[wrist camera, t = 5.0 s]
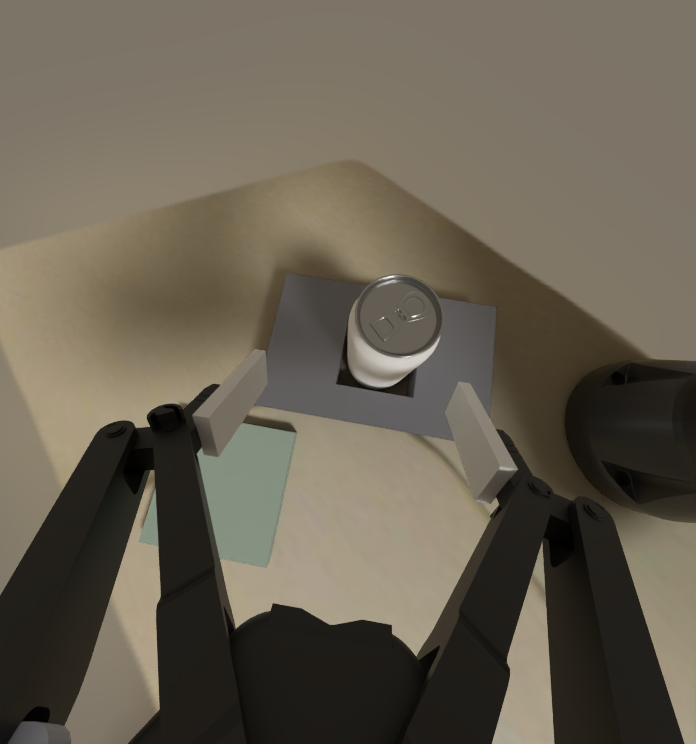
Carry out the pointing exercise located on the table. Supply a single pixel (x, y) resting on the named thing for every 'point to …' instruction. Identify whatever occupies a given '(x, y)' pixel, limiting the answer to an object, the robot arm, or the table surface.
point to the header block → (328, 399)
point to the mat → (242, 493)
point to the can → (392, 330)
